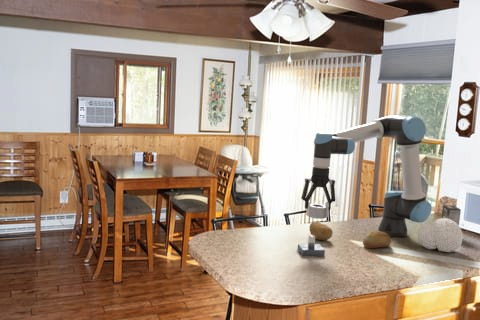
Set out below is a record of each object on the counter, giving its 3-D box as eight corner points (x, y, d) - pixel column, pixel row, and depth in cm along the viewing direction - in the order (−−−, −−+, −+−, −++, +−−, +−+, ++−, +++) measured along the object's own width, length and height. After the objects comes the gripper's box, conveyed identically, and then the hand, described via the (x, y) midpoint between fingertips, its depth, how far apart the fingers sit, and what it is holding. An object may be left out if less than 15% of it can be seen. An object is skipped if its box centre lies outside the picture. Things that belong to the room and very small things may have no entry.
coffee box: (439, 233, 261) (442, 204, 258) (450, 233, 261) (454, 205, 258) (445, 238, 252) (449, 208, 249) (458, 238, 251) (461, 209, 249)
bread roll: (396, 249, 229) (397, 232, 227) (371, 251, 223) (372, 235, 221) (382, 243, 237) (384, 227, 236) (358, 245, 231) (359, 229, 230)
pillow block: (318, 250, 220) (319, 233, 219) (324, 256, 211) (325, 239, 210) (297, 249, 219) (298, 233, 218) (302, 256, 210) (303, 239, 209)
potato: (322, 244, 229) (323, 228, 228) (304, 236, 241) (305, 221, 240) (337, 242, 234) (338, 226, 233) (319, 234, 246) (320, 219, 245)
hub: (322, 214, 222) (323, 204, 222) (327, 218, 214) (328, 208, 214) (306, 213, 221) (307, 203, 221) (310, 218, 213) (311, 207, 213)
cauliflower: (466, 231, 234) (453, 207, 228) (470, 257, 220) (456, 232, 214) (425, 241, 244) (412, 218, 238) (427, 266, 230) (413, 243, 224)
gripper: (340, 166, 220) (336, 214, 223) (296, 164, 217) (292, 213, 220) (346, 169, 212) (341, 218, 215) (300, 167, 210) (296, 217, 213)
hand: (316, 215), depth 218 cm, fingers closed on hub, 8 cm apart
